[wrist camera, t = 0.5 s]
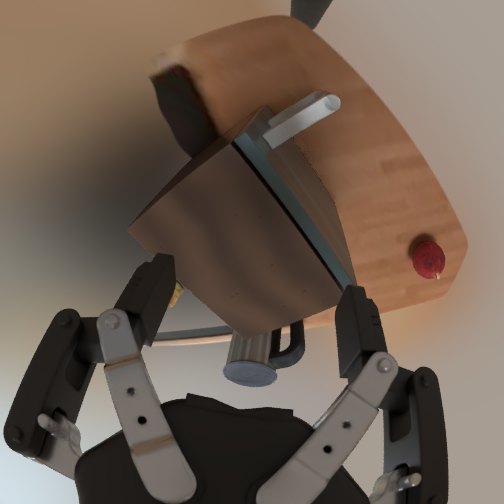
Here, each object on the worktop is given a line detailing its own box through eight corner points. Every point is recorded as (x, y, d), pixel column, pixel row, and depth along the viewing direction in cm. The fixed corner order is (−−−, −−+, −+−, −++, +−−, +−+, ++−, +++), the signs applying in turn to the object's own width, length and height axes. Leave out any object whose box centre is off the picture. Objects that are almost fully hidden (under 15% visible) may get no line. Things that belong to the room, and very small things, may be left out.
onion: (401, 244, 41) (416, 276, 35) (428, 226, 39) (447, 255, 32) (414, 265, 44) (428, 296, 37) (439, 248, 41) (457, 277, 34)
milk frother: (257, 330, 58) (249, 391, 46) (201, 288, 53) (179, 352, 41) (312, 303, 52) (314, 371, 40) (255, 250, 46) (243, 321, 34)
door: (308, 76, 29) (332, 76, 14) (373, 180, 36) (424, 262, 21) (259, 108, 32) (233, 140, 17) (328, 205, 39) (349, 298, 24)
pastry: (137, 279, 54) (129, 292, 50) (145, 258, 50) (137, 271, 47) (176, 301, 56) (170, 314, 53) (188, 282, 52) (182, 296, 49)
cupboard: (257, 109, 32) (229, 142, 17) (327, 205, 39) (347, 300, 24) (190, 159, 38) (126, 229, 22) (261, 242, 45) (245, 340, 29)
